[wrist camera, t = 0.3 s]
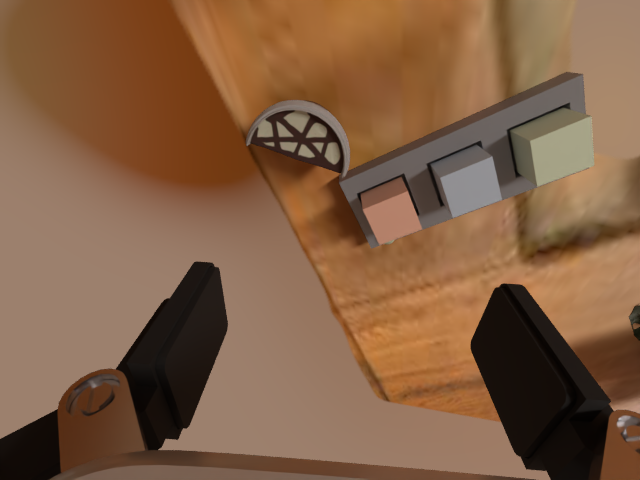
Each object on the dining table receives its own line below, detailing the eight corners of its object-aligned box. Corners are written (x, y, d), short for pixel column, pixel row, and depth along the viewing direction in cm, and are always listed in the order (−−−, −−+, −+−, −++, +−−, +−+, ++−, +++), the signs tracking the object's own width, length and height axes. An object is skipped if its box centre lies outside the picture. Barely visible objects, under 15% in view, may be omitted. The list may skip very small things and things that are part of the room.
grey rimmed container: (362, 109, 41) (368, 126, 33) (345, 153, 44) (347, 179, 36) (271, 76, 40) (252, 85, 31) (261, 124, 43) (241, 144, 34)
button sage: (509, 130, 39) (530, 141, 35) (563, 107, 37) (591, 115, 33) (517, 172, 42) (537, 186, 38) (567, 152, 40) (594, 165, 36)
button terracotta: (360, 193, 45) (362, 209, 40) (401, 176, 43) (407, 191, 39) (376, 226, 47) (379, 245, 43) (414, 211, 46) (422, 229, 42)
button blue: (430, 164, 42) (440, 177, 38) (476, 144, 40) (492, 156, 36) (442, 201, 45) (452, 217, 40) (486, 184, 43) (502, 199, 39)
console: (339, 175, 46) (338, 185, 43) (566, 72, 38) (587, 74, 34) (369, 238, 51) (371, 251, 48) (574, 160, 43) (593, 170, 40)
